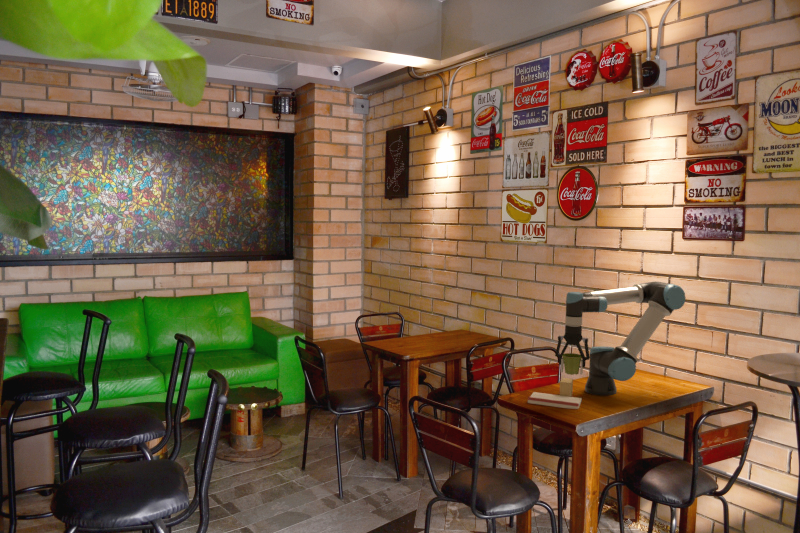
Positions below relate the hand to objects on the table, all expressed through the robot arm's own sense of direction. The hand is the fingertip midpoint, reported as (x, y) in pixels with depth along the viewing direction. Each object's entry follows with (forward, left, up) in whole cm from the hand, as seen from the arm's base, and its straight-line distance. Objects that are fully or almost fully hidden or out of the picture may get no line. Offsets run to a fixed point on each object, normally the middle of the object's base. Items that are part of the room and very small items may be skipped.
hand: (571, 372), depth 280 cm
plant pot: (0, 0, 0) cm, 0 cm away
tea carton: (+3, -11, -15) cm, 18 cm away
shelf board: (+7, +1, -15) cm, 16 cm away
